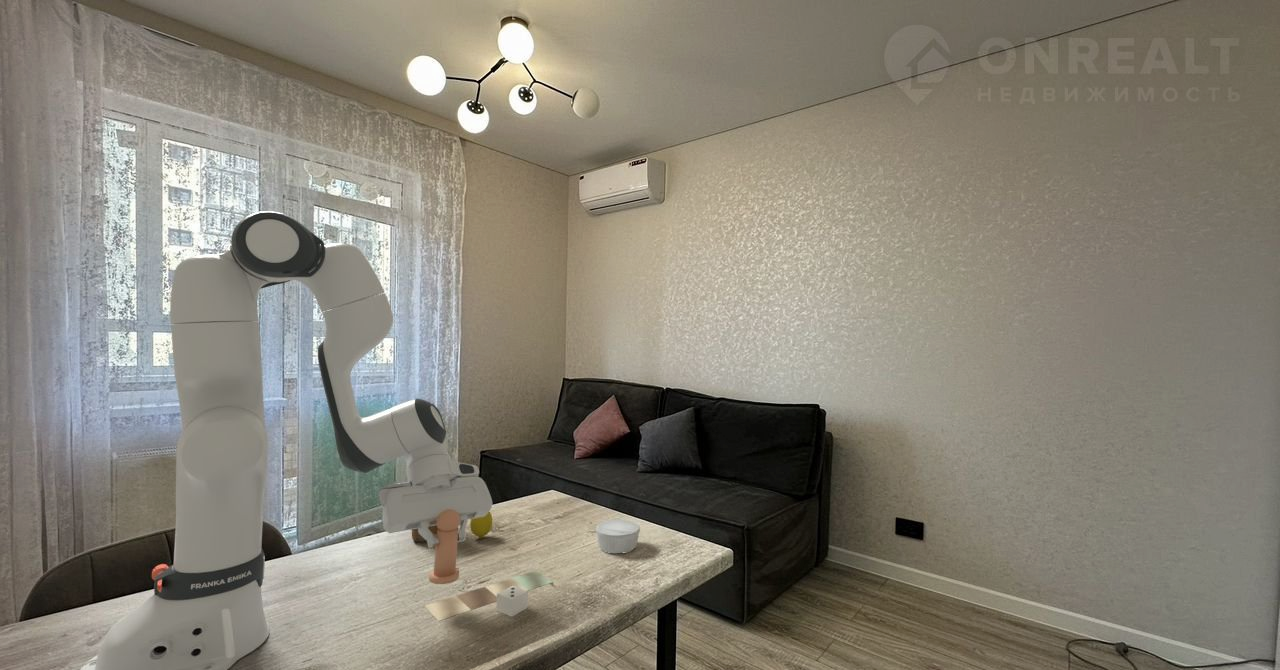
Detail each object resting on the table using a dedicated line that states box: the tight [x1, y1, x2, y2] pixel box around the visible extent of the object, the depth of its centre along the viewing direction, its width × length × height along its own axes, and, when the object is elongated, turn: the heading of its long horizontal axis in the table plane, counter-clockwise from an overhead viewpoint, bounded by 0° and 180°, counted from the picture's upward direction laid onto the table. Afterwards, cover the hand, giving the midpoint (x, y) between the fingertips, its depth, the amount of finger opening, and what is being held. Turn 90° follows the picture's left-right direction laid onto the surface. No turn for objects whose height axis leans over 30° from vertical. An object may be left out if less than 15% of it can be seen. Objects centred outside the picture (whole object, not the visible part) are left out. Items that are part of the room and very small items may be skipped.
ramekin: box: [595, 519, 641, 554], centre depth 128 cm, size 11×11×5 cm
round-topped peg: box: [428, 509, 460, 585], centre depth 95 cm, size 5×5×13 cm
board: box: [424, 570, 554, 622], centre depth 101 cm, size 24×7×1 cm, turn 132°
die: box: [495, 586, 529, 618], centre depth 95 cm, size 4×4×4 cm
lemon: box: [469, 511, 493, 539], centre depth 132 cm, size 6×6×8 cm
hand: (448, 543), depth 94 cm, fingers closed on round-topped peg, 4 cm apart
